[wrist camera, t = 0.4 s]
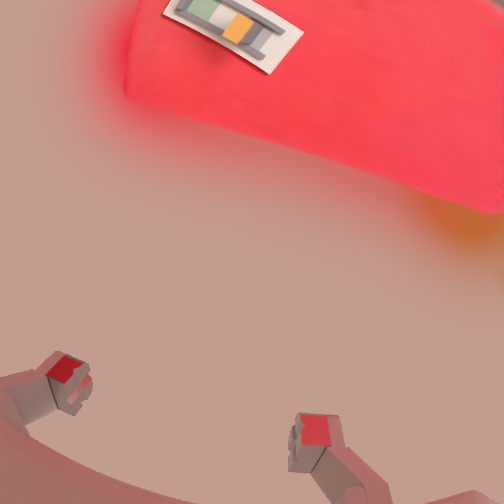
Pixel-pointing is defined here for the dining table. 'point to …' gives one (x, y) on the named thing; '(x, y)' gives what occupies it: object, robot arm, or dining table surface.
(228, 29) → the switch tab
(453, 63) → the dining table surface
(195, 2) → the switch plate
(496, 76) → the dining table surface
